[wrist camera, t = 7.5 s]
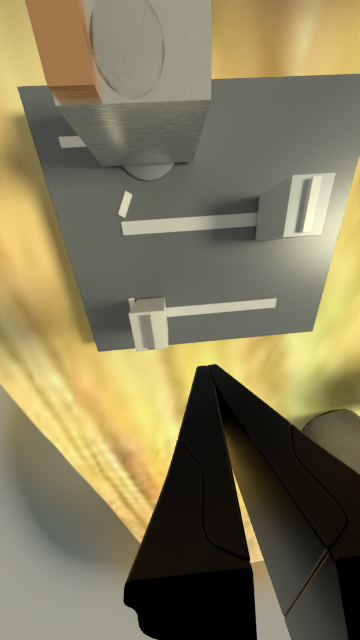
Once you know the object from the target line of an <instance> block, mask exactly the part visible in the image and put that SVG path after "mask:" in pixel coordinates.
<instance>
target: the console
mask: <svg viewBox="0 0 360 640" xmlns="http://www.w3.org/2000/svg"><path fill="white" fill-rule="evenodd" d="M17 88H18V91H19V94H20V97H21V101H22V104H23V107H24V111H25V114H26V117H27V120H28V124H29V127H30V130H31V133H32V137H33V140H34V143H35V147H36V150H37V153H38V156H39V160H40V163H41V166H42V169H43V173H44V176H45V179H46V182H47V186H48V189H49V192H50V196H51V199H52V202H53V205H54V209H55V212H56V215H57V218H58V222H59V225H60V228H61V232H62V235H63V238H64V241H65V245H66V248H67V251H68V254H69V258H70V261H71V264H72V268H73V271H74V274H75V277H76V281H77V284H78V287H79V290H80V294H81V297H82V300H83V304H84V307H85V310H86V313H87V317H88V320H89V323H90V326H91V330H92V333H93V336H94V339H95V343H96V346H97V349H98V352H100V351H110V350H121V349H131V348H135V343H134V338H133V333H132V328H131V323H130V318H129V312H130V311H131V309H132V307H133V306H134V304H135V303H136V301H137V300H140V299H151V298H163V297H165V304H166V313H167V323H168V345H173V344H184V343H194V342H204V341H215V340H225V339H236V338H246V337H257V336H267V335H278V334H288V333H299V332H309V331H313V327H314V323H315V319H316V316H317V312H318V308H319V304H320V301H321V297H322V293H323V289H324V286H325V282H326V278H327V274H328V271H329V267H330V263H331V259H332V256H333V252H334V248H335V244H336V241H337V237H338V233H339V230H340V226H341V222H342V218H343V215H344V211H345V207H346V203H347V200H348V196H349V192H350V188H351V185H352V181H353V177H354V173H355V170H356V166H357V162H358V158H359V155H360V74H343V75H316V76H289V77H262V78H236V79H211V102H210V105H209V109H208V112H207V116H206V119H205V123H204V126H203V130H202V133H201V137H200V140H199V143H198V147H197V150H196V154H195V157H194V161H193V162H181V163H163V164H145V165H127V166H109V167H102V165H101V164H100V163H99V162H98V160H97V159H96V158H95V156H94V155H93V154H92V152H91V151H90V150H89V149H88V147H87V146H86V145H85V143H84V142H83V141H82V140H81V138H80V137H79V136H78V134H77V133H76V132H75V131H74V129H73V128H72V127H71V125H70V124H69V123H68V121H67V120H66V119H65V118H64V116H63V115H62V114H61V112H60V111H59V110H58V109H57V107H56V106H55V102H54V98H53V94H52V92H51V90H50V89H49V88H48V86H22V87H17ZM321 173H336V174H335V178H334V182H333V186H332V191H331V195H330V199H329V204H328V208H327V212H326V217H325V221H324V225H323V230H322V234H321V235H312V236H303V237H293V238H284V239H270V240H257V241H255V238H256V227H257V217H258V206H259V196H260V195H261V194H262V193H264V192H266V191H267V190H269V189H271V188H272V187H274V186H276V185H277V184H279V183H281V182H282V181H284V180H286V179H287V178H289V177H291V176H292V175H304V174H321Z"/></svg>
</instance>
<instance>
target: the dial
mask: <svg viewBox="0 0 360 640" xmlns="http://www.w3.org/2000/svg"><path fill="white" fill-rule="evenodd" d="M25 1H26V5H27V8H28V12H29V16H30V20H31V24H32V28H33V32H34V36H35V40H36V43H37V47H38V51H39V55H40V59H41V63H42V67H43V71H44V74H45V78H46V82H47V86H48V88H49V89H50V90H51V92H52V94H53V98H54V102H55V106H56V107H57V109H58V110H59V111H60V112H61V114H62V115H63V116H64V118H65V119H66V120H67V121H68V123H69V124H70V125H71V127H72V128H73V129H74V131H75V132H76V133H77V134H78V136H79V137H80V138H81V140H82V141H83V142H84V143H85V145H86V146H87V147H88V149H89V150H90V151H91V152H92V154H93V155H94V156H95V158H96V159H97V160H98V162H99V163H100V164H101V165H102V167H109V166H127V165H145V164H163V163H181V162H193V161H194V157H195V154H196V150H197V147H198V143H199V140H200V137H201V133H202V130H203V126H204V123H205V119H206V116H207V112H208V109H209V105H210V102H211V0H25Z"/></svg>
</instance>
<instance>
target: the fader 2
mask: <svg viewBox="0 0 360 640" xmlns="http://www.w3.org/2000/svg"><path fill="white" fill-rule="evenodd" d="M335 174H336V173H321V174H304V175H292V176H291V177H289V178H287V179H286V180H284V181H282V182H281V183H279V184H277V185H276V186H274V187H272V188H271V189H269V190H267V191H266V192H264V193H262V194H261V195H260V196H259V206H258V217H257V227H256V238H255V241H257V240H270V239H284V238H293V237H303V236H312V235H321V234H322V230H323V225H324V221H325V217H326V212H327V208H328V204H329V199H330V195H331V191H332V186H333V182H334V178H335Z"/></svg>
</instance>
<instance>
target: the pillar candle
mask: <svg viewBox="0 0 360 640" xmlns="http://www.w3.org/2000/svg"><path fill="white" fill-rule="evenodd" d="M302 432H303V433H305V434H306V435H307V436H308V437H310V438H311V439H312V440H314V441H315V442H316V443H318V444H319V445H320V446H322V447H323V448H324V449H326V450H327V451H328V452H330V453H331V454H333V455H334V456H335V457H337V458H338V459H340V460H341V461H342V462H344V463H345V464H347V465H348V466H349V467H351V468H352V469H354V470H355V471H357V472H358V473H359V474H360V417H359V416H358V415H357V414H356V413H354V412H352V411H350V410H345V409H340V410H336V411H333V412H331V413H327V414H324V415H320V416H318V417H316V418H315V419H313V420H312V421H310V422H309V424H308V425H307V426H306V427H305V428H304V430H303V431H302Z"/></svg>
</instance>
